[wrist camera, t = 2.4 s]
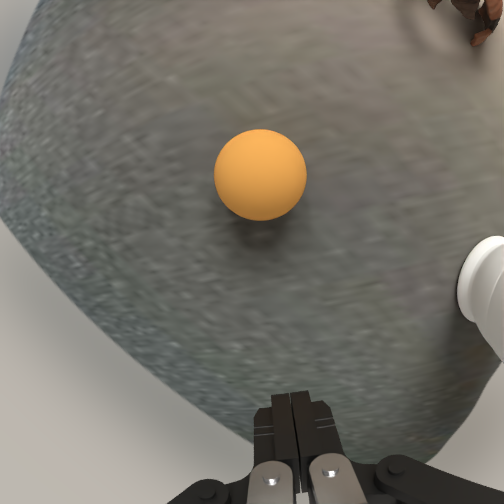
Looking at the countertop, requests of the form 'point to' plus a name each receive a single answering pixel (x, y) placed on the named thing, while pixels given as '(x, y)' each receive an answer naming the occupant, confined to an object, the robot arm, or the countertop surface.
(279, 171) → the ball
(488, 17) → the pottery mug
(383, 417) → the countertop surface
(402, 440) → the countertop surface
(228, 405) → the countertop surface
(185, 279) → the countertop surface
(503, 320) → the jar
